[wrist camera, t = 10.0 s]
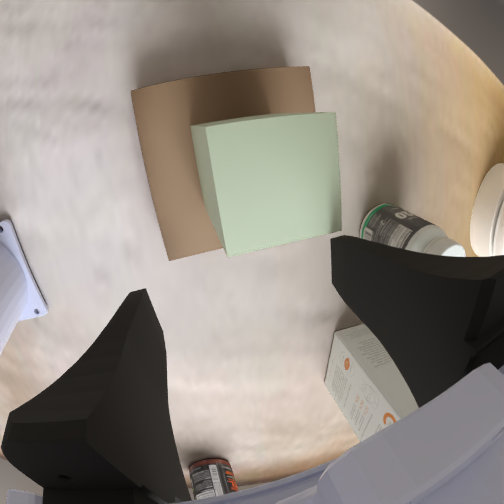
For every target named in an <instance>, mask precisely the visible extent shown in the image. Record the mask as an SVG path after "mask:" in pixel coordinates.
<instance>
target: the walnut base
mask: <svg viewBox="0 0 504 504" xmlns="http://www.w3.org/2000/svg"><path fill="white" fill-rule="evenodd" d="M131 96H132V102H133V108H134V114H135V119H136V125H137V130H138V135H139V140H140V145H141V150H142V155H143V159H144V164H145V169H146V173H147V177H148V182H149V186H150V190H151V195H152V199H153V203H154V207H155V211H156V215H157V219H158V222H159V226H160V230H161V234H162V237H163V241H164V245H165V248H166V252H167V255H168V259H169V261H171V260H175V259H179V258H184V257H188V256H192V255H196V254H200V253H204V252H208V251H212V250H216V249H220V248H223V246H222V244H221V242H220V239H219V237H218V235H217V233H216V230H215V228H214V226H213V224H212V221H211V219H210V217H209V215H208V212H207V210H206V208H205V206H204V201H203V196H202V190H201V185H200V180H199V174H198V168H197V163H196V157H195V151H194V145H193V139H192V133H191V127H190V126H193V125H198V124H203V123H209V122H215V121H221V120H227V119H234V118H241V117H249V116H257V115H265V114H278V113H313V112H315V105H314V96H313V89H312V81H311V74H310V67H309V66H303V67H277V68H262V69H250V70H240V71H231V72H223V73H216V74H209V75H203V76H196V77H191V78H185V79H180V80H175V81H170V82H165V83H160V84H156V85H152V86H147V87H143V88H139V89H135V90H132V91H131Z"/></svg>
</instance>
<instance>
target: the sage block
mask: <svg viewBox="0 0 504 504" xmlns="http://www.w3.org/2000/svg"><path fill="white" fill-rule="evenodd" d="M190 127H191V133H192V139H193V145H194V151H195V157H196V163H197V168H198V174H199V180H200V185H201V190H202V196H203V201H204V206H205V208H206V210H207V212H208V215H209V217H210V219H211V221H212V224H213V226H214V228H215V230H216V233H217V235H218V237H219V239H220V242H221V244H222V246H223V248H224V250H225V253H226V255H227V257H232V256H236V255H241V254H245V253H249V252H253V251H257V250H262V249H266V248H270V247H274V246H279V245H283V244H287V243H291V242H295V241H300V240H304V239H308V238H312V237H316V236H321V235H325V234H329V233H333V232H338V231H342V223H341V186H340V165H339V149H338V135H337V123H336V113H331V112H313V113H278V114H265V115H257V116H249V117H241V118H234V119H227V120H221V121H215V122H209V123H203V124H198V125H193V126H190Z"/></svg>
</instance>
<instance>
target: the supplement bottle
mask: <svg viewBox="0 0 504 504" xmlns="http://www.w3.org/2000/svg"><path fill="white" fill-rule="evenodd" d="M189 472H190V479H191V484H192V489H193V494H194V499H195V500H198V499H204V498H210V497H215V496H220V495H224V494H229V493H233V492H237V491H238V488H237V485H236V481H235V478H234V474H233V471H232V468H231V465H230V463H229V462H227V461H225V460H222V459H205V460H201V461H198V462H196V463H194V464H193V465H192V466H191V467H190V468H189Z"/></svg>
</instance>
